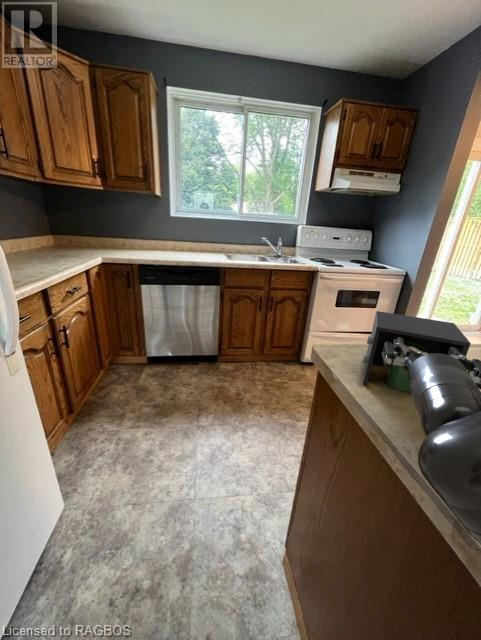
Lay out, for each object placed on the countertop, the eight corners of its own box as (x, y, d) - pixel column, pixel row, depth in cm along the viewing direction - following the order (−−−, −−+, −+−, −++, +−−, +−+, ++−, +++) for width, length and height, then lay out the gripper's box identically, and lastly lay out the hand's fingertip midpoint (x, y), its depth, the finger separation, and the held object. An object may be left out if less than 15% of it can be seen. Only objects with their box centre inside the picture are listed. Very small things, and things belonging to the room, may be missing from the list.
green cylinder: (414, 381, 66) (425, 344, 63) (417, 394, 61) (430, 355, 58) (386, 374, 69) (395, 338, 65) (387, 386, 63) (397, 348, 60)
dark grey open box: (435, 377, 68) (454, 323, 63) (447, 406, 57) (471, 343, 52) (360, 360, 75) (372, 310, 70) (358, 383, 64) (371, 325, 59)
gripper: (519, 380, 34) (476, 336, 48) (391, 354, 39) (387, 321, 53) (497, 429, 36) (462, 373, 50) (380, 397, 42) (378, 355, 56)
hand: (423, 346), depth 52 cm, fingers open, 8 cm apart
